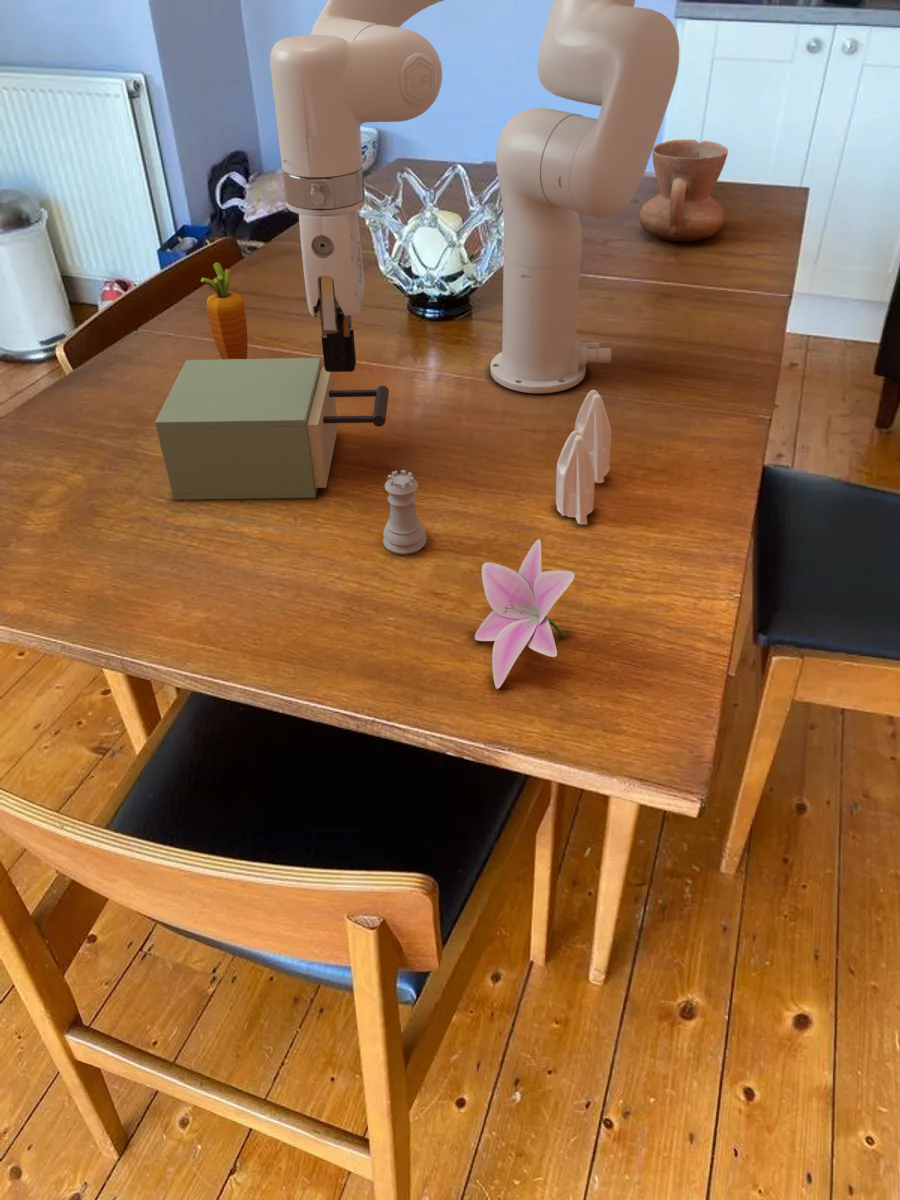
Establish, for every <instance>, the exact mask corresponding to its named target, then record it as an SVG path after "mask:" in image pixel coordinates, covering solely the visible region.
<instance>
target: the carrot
mask: <svg viewBox="0 0 900 1200" xmlns="http://www.w3.org/2000/svg"><path fill="white" fill-rule="evenodd" d="M212 266H213V270H214V271H215V274H216V277H215V278H214V279H213V281H212V279H210V278H207V277H201V278H200V282H201V283H203V284H204V285H207V286H209V287H210V288H211V289H212V290H213V291H214V292H215V293H214V294H211V295H209V296H208V297H207V298H206V312H207V317H208V321H209V326H210V330H211V334H212V337H213V341H214V343H215V347H216V349H217V351H218V355H219V356H220V358H221V359H248V346H249V345H248V325H247V316H246V310H245V309H246V308H245V302H244V298H243V296H242V295H241V294H240V293H237V292H233V291H229V287H230V282H231V271H230V270H229V269H228V268H227V269H226V268H225V269H223V267H222V265H221V263H220V262H215V263H213V264H212Z"/></svg>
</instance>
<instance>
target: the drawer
mask: <svg viewBox="0 0 900 1200" xmlns="http://www.w3.org/2000/svg"><path fill="white" fill-rule="evenodd" d="M389 394H390V390H389V388H388V387H387V386H386V385H379V386H378V387H377V388H376V389H336V390H335V385H334V377H333V372H327V371H326V370H325V367H324V366H322V367H321V371H320V375H319V379H318V382H317V386H316V390H315V394H314V398H313V399H312V403H311V407H310V411H309V415H308V419H307V430H308V438H309V445H310V452H311V460H312V467H313V475H314V482H315V488H317V489H320V488H321V489H325V488H327V485H328V480H329V474H330V469H331V464H332V460H333V455H334V449H335V444H336V440H337V435H338V429H339V424H373V426H375V427H378V428H380V427H384V425H385V424H386V419H387V410H388V402H389ZM364 397H365V398H366V397H367V398H368V397H375V398H374V406H373V412H372V415H338V414H337V404H336V398H364Z"/></svg>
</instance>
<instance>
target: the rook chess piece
mask: <svg viewBox="0 0 900 1200" xmlns="http://www.w3.org/2000/svg"><path fill="white" fill-rule="evenodd" d="M418 487H419V484H418V481H417V480H416V479H415V476H414V473H412V472H411V471H409V472H407V470H404V469H400V474H398V470H393V471H391V474H388V475H387V481H386V482H385V483H384V489H385V491H386V492H388V494H389V495H388V497H387V502H388V503H389V507H390V508H389V518H388V520H387V522H386V524H385V526H384V528H383V532H382V536H383V539H382V543H383V546H384V547H385V548H386V549H387V550H389V552H391V553H393V554H395V555H399V556H406V555H413V554H415V553H417V552H419V551H420V550H421V549H422V548H423V547H424V546H425V545H426V543H427V536H426V529H425V526H424V524H423V523H422V522H421V520H420V518H419V517H418V514H417V511H416V505H415V504H416V503H415V502H416V501H417V496H416V494H415V491H416V490H417V489H418Z"/></svg>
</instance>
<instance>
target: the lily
mask: <svg viewBox="0 0 900 1200" xmlns="http://www.w3.org/2000/svg"><path fill="white" fill-rule="evenodd" d="M575 577H576V574H575V572H573V571H572V570H571V571H570V570H558V569H557V570H548V571H542V542H541V538H538V539H537V540H535V542H533V544H532V546H531V547H530V548H529V550H528V551H527V553H526V555H525V557H524V559H523V561H522V563H521V564H520V567H519V569H518V572H517V571H516V570H513V569H511V568H510V567H507V566H505V565H502V564H498V563H494V562H491V561H489V562H488V561H487V562H484V563H483V564H482V566H481V579H482V585H483V586H482V587H483V591H484V594H485V598H486V600H487V602H488V604H489V606H490V608H491V610H492V611H491V612H489V614H488V615H487V616H486V617H485V618H484V620H483V621H482V622H481V624H480V626H479V627H478V628H477V630H476V632H475V634H474V640H475V641H479V642H493V645H492V655H491V661H492V662H491V664H492V665H491V666H492V667H491V668H492V676H493V677H492V678H493V681H494V682H493V683H494V687H495V689H497V690H498V689H500V688H501V687H502V685H503V684H504V682H505V680H506V679H507V676H508V675H509V673H510V671H511V670H512V668H513V666H514V664H515V662H516V661H517V659H518V657H519V656H520V655H521V653H522V651H523V650H524V649H525V647H526V646H527V647H528V648H529V649H531V650H533V651H534V652H536V653H539V654H541V655H544V656H547V657H552V658H555V657H557V656H558V651H557V647H556V646H557V645H556V642H555V638H554V635H553V631H552V628H553V629H554V630H555V631H556V632H557V633H558V634H559V636H560V637H561V638H564V637H565V634H564V633H563V632H562V630H561V629H560V627H558V626H557V625H556V624H555V622H553V621H552V620H551V619H549V618H548V613H549V612H550V611H551V610H552V608H553V606H554V605H555V604H556V603H557V601H558V600H559V599H560V597H562V596H563V594H564V593H565V592H566V590H567V589H568V588H569V587H570V585H571V584H572V582H573V581H574V579H575ZM551 626H552V627H551Z"/></svg>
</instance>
